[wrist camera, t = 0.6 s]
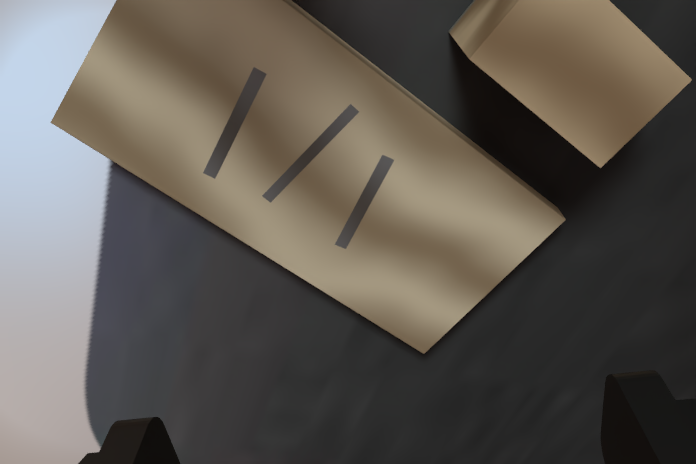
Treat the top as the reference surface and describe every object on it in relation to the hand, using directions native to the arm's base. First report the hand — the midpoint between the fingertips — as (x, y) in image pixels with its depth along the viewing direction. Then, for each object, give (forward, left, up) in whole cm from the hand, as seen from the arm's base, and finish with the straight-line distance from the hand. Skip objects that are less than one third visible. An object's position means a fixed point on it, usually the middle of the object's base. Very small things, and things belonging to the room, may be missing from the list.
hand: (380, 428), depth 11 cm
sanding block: (-7, +6, -23) cm, 25 cm away
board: (+5, +1, -23) cm, 24 cm away
